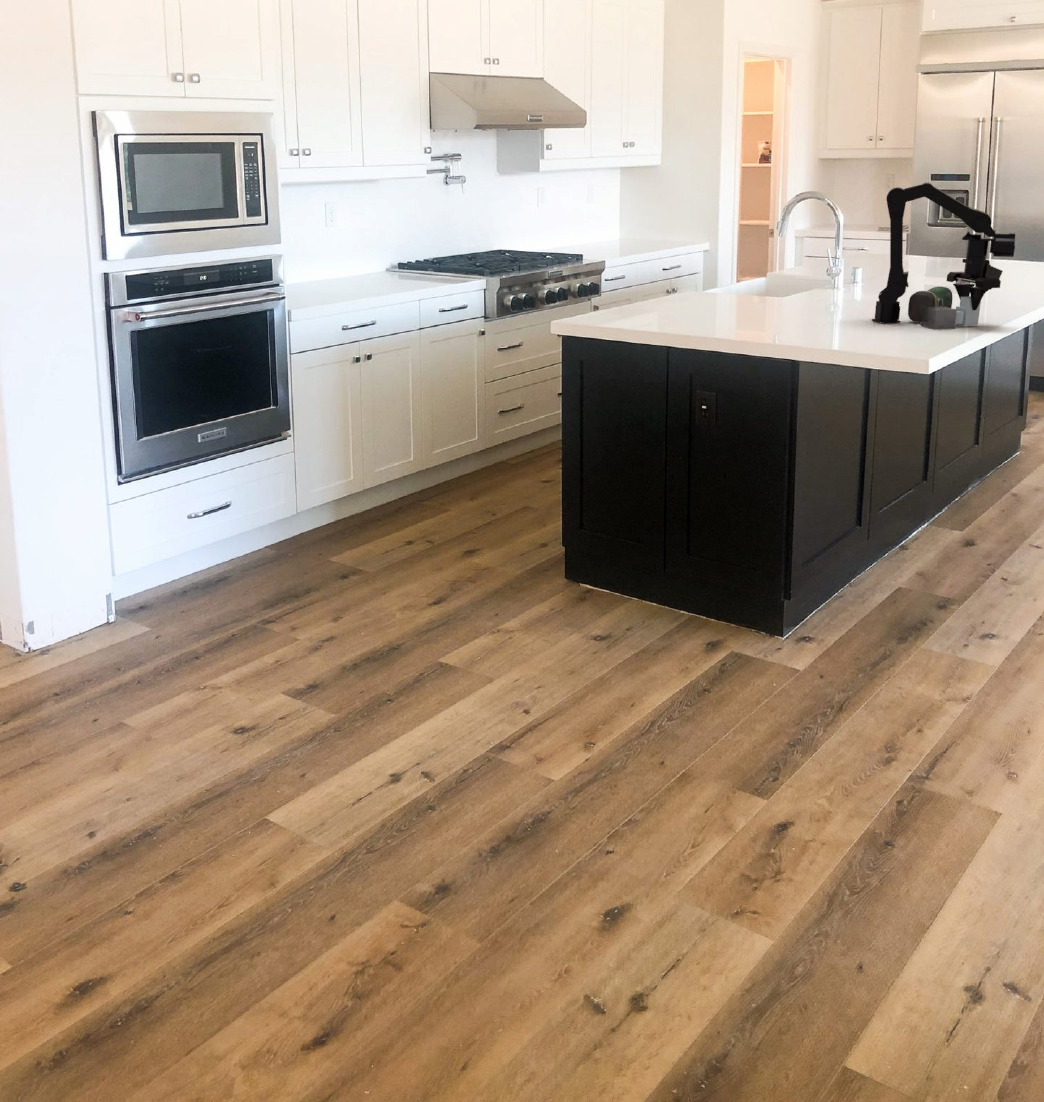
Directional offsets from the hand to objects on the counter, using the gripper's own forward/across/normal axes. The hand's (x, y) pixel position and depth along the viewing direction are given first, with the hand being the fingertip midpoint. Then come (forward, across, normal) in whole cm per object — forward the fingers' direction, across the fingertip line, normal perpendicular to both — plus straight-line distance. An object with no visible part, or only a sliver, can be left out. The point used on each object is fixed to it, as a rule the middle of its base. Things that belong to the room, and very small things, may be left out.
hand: (969, 309), depth 363 cm
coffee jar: (0, +18, -2) cm, 19 cm away
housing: (+5, 0, +10) cm, 11 cm away
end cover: (+5, 0, +3) cm, 6 cm away
